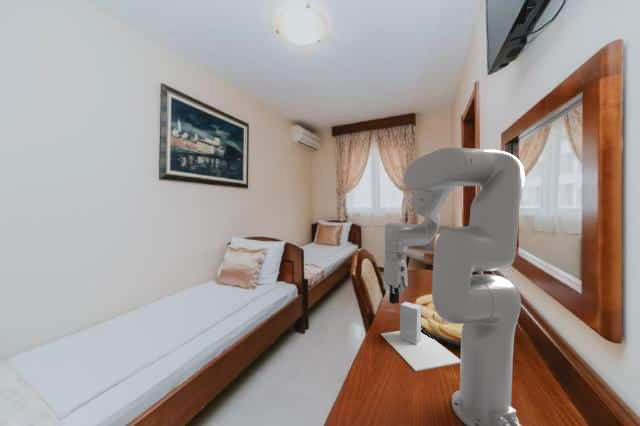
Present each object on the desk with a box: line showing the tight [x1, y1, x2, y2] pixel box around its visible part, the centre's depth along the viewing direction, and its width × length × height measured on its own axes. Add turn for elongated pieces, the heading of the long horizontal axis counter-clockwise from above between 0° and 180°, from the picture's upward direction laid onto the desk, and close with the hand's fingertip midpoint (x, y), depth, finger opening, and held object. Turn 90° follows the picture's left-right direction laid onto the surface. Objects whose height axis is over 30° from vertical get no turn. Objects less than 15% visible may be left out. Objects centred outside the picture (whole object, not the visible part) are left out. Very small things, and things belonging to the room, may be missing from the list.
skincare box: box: [399, 301, 423, 345], centre depth 84 cm, size 6×4×12 cm
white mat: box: [380, 330, 461, 372], centre depth 81 cm, size 20×16×1 cm
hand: (394, 302), depth 94 cm, fingers closed
